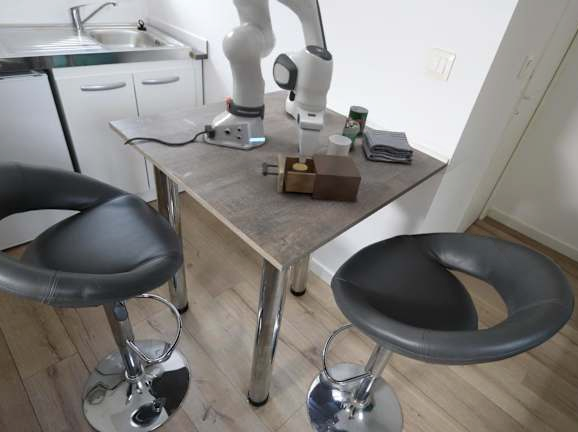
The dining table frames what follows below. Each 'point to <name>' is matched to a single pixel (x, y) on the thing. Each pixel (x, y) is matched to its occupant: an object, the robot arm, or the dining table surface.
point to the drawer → (293, 175)
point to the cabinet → (336, 177)
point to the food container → (351, 131)
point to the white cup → (338, 145)
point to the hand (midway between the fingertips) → (300, 156)
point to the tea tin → (299, 168)
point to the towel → (387, 146)
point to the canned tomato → (358, 117)
